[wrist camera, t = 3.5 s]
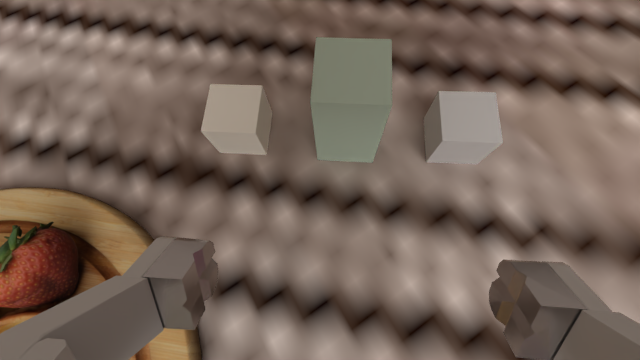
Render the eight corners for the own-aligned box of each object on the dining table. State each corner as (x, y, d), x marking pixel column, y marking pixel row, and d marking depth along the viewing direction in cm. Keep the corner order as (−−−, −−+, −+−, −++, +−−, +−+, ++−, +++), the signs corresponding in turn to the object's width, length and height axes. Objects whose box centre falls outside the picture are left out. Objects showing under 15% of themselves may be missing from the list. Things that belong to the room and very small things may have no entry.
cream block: (272, 113, 26) (262, 85, 23) (267, 155, 25) (255, 133, 21) (228, 111, 27) (210, 83, 23) (220, 153, 25) (200, 131, 22)
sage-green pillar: (373, 114, 26) (391, 39, 18) (372, 162, 24) (392, 105, 16) (321, 111, 26) (316, 37, 18) (317, 159, 25) (310, 102, 17)
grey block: (471, 120, 25) (495, 92, 22) (476, 164, 24) (502, 143, 20) (423, 118, 26) (438, 91, 22) (425, 162, 24) (442, 140, 21)
